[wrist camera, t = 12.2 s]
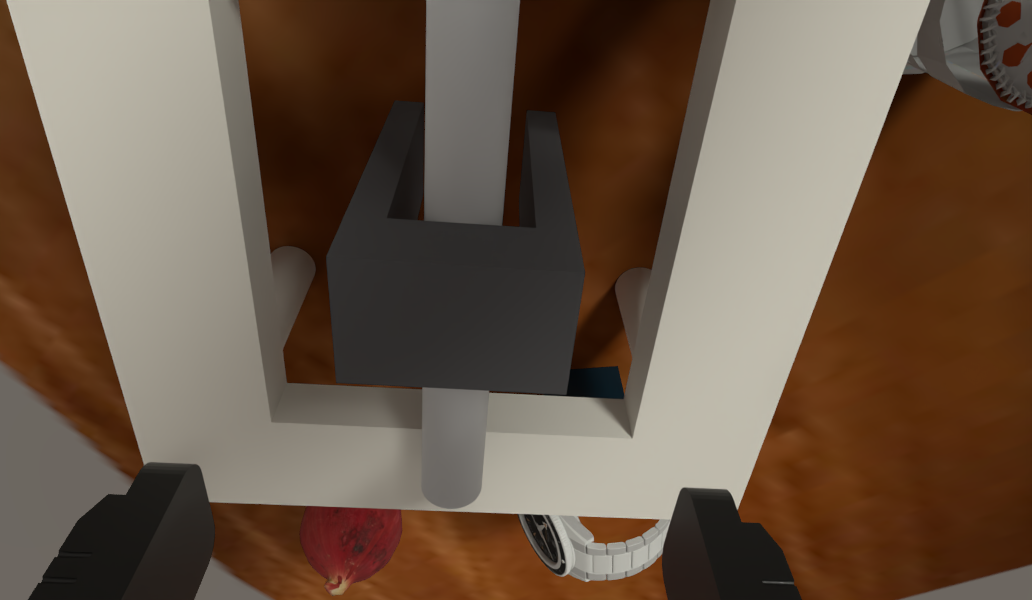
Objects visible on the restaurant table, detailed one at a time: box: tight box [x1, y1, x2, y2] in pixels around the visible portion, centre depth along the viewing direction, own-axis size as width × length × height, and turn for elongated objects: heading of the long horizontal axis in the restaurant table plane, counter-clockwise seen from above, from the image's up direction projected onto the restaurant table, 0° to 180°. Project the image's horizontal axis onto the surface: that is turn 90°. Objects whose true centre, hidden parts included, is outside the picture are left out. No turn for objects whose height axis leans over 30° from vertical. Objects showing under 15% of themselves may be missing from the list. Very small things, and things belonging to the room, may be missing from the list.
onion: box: [300, 506, 402, 596], centre depth 41 cm, size 6×6×8 cm
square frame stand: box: [7, 0, 930, 520], centre depth 24 cm, size 21×22×16 cm
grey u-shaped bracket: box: [326, 101, 585, 395], centre depth 21 cm, size 6×4×11 cm, turn 86°
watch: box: [517, 366, 671, 582], centre depth 37 cm, size 6×8×11 cm
